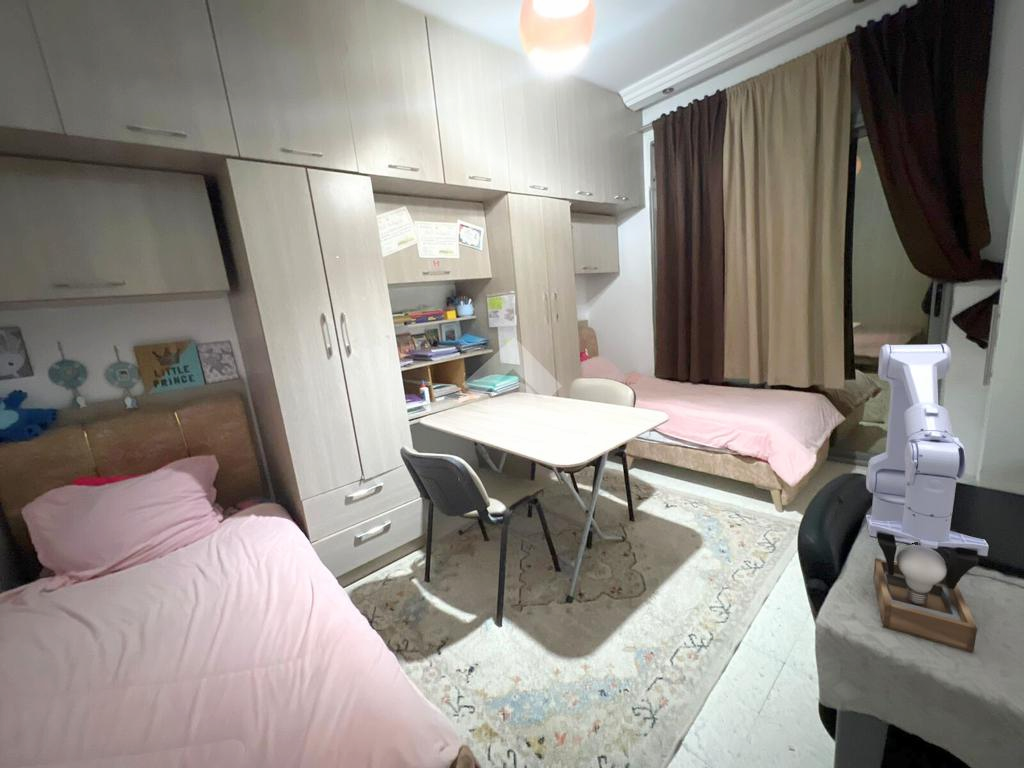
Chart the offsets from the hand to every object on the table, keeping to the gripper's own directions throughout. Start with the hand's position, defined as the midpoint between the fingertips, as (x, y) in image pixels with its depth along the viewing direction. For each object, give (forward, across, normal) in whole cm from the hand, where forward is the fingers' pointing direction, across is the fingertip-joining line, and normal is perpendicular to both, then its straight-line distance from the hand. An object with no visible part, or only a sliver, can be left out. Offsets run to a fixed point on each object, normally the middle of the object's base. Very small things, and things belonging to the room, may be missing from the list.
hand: (919, 578), depth 73 cm
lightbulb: (+5, 0, 0) cm, 5 cm away
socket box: (+6, 0, -2) cm, 6 cm away
